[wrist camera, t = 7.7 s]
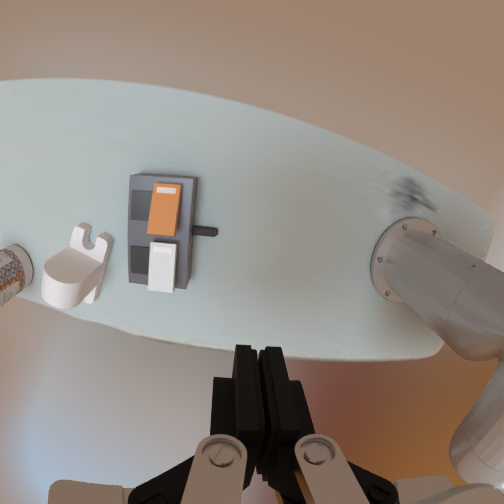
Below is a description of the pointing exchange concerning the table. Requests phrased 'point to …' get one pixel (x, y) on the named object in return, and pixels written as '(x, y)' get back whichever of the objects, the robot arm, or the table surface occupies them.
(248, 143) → the table surface
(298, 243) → the table surface
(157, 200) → the rocker orange
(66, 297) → the cable organizer
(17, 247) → the bath foam
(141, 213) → the rocker switch box
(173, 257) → the rocker grey
